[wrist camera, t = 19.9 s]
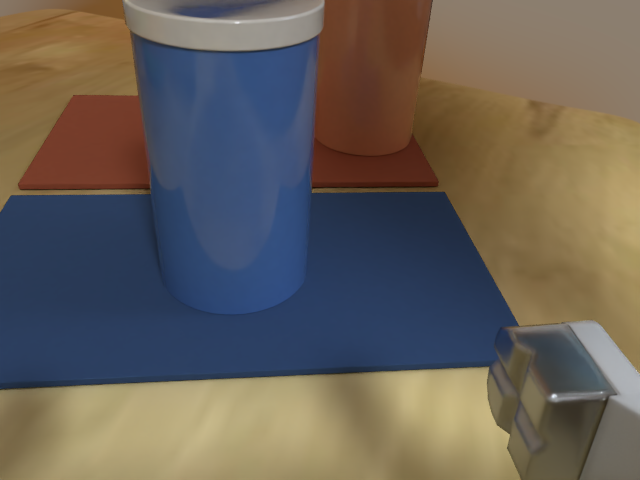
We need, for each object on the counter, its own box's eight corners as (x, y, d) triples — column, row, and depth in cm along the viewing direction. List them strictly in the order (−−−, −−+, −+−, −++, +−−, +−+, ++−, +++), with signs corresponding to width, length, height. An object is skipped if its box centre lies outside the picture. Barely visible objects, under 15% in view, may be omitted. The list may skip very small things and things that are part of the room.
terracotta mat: (392, 102, 38) (392, 98, 38) (437, 186, 29) (439, 181, 29) (74, 99, 36) (73, 94, 36) (19, 189, 27) (17, 184, 27)
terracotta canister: (400, 114, 36) (425, -67, 30) (423, 157, 31) (459, -48, 26) (306, 113, 35) (314, -73, 30) (316, 157, 31) (328, -53, 25)
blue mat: (443, 196, 29) (444, 191, 28) (535, 364, 20) (537, 358, 20) (12, 200, 26) (10, 195, 26) (-106, 394, 17) (-110, 387, 17)
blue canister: (303, 224, 25) (314, -24, 20) (317, 314, 21) (337, 23, 15) (166, 226, 25) (137, -30, 19) (149, 320, 20) (103, 17, 14)
